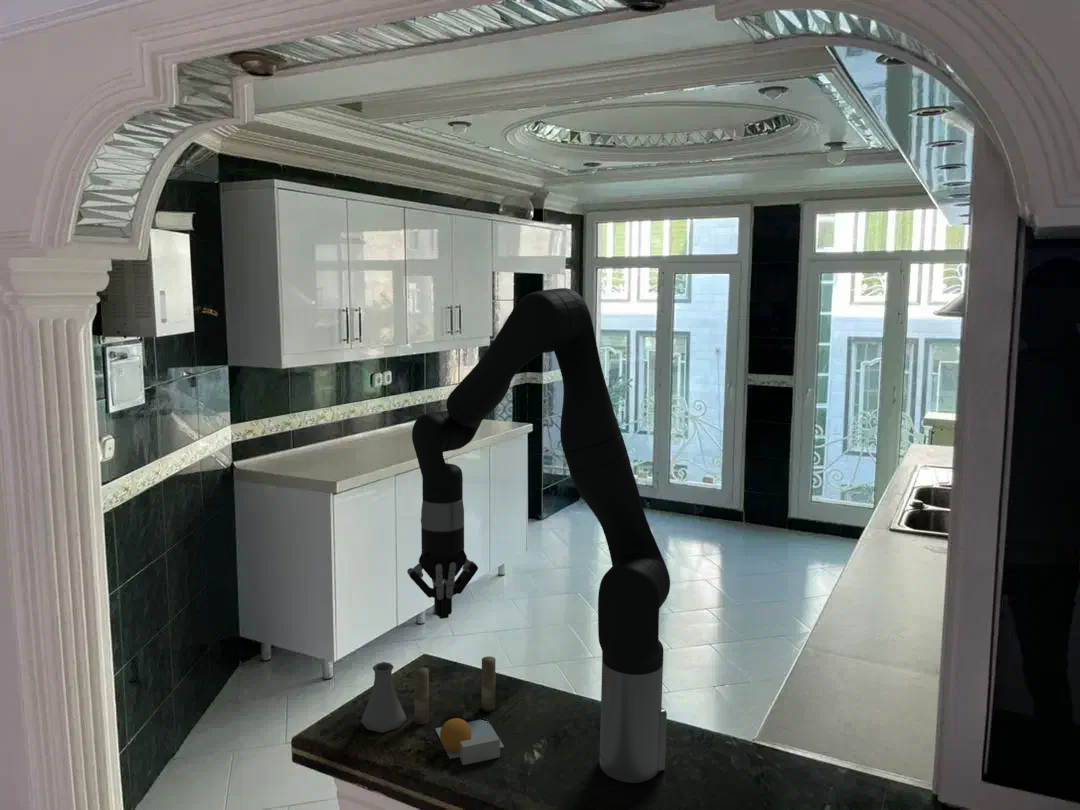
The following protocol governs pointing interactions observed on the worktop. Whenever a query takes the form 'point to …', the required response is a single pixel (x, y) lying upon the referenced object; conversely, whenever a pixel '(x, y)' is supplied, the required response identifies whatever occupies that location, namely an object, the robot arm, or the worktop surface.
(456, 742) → the ball
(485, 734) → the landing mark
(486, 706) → the inner post
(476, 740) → the block
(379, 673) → the flask
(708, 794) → the worktop surface
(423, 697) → the outer post
